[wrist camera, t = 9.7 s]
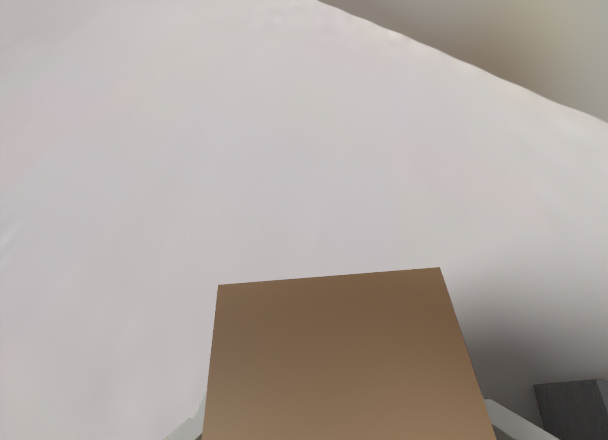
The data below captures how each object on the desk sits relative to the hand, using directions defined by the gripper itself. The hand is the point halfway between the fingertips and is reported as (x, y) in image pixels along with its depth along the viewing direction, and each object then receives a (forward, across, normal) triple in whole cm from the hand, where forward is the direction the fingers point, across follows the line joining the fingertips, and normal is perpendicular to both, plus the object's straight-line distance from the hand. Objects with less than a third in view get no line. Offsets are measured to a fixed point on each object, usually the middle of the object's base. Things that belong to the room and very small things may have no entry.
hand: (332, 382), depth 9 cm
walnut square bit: (+4, 0, +5) cm, 7 cm away
